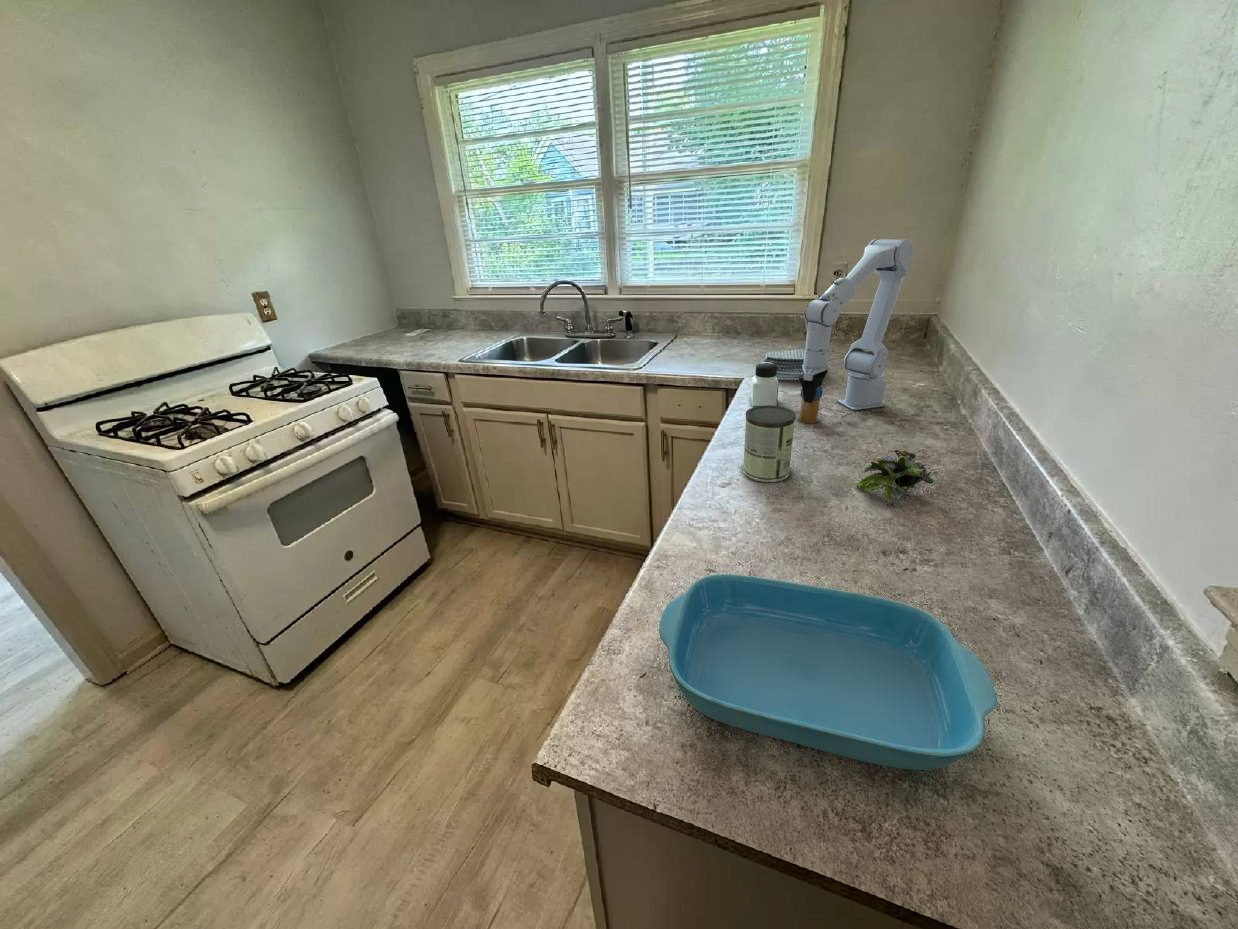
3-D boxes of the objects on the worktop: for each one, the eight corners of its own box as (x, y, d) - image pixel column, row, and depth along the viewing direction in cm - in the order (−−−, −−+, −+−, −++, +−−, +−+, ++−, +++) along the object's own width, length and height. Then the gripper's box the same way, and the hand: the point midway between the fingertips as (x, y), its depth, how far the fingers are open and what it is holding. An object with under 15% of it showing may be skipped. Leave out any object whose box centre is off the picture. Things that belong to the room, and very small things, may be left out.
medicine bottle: (776, 406, 146) (780, 367, 141) (751, 406, 148) (754, 367, 142) (774, 398, 153) (778, 360, 147) (751, 398, 154) (753, 360, 149)
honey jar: (807, 415, 139) (811, 386, 135) (820, 420, 135) (824, 390, 131) (795, 419, 137) (799, 389, 133) (808, 424, 133) (812, 394, 129)
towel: (817, 381, 164) (820, 358, 161) (760, 380, 169) (762, 357, 166) (813, 368, 177) (816, 346, 174) (761, 367, 182) (762, 346, 178)
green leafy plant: (892, 510, 104) (940, 471, 98) (895, 529, 95) (948, 487, 89) (849, 474, 106) (894, 434, 100) (848, 490, 97) (897, 446, 91)
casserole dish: (950, 645, 66) (964, 605, 63) (1011, 822, 47) (1036, 778, 44) (678, 598, 77) (678, 562, 74) (640, 727, 58) (638, 685, 55)
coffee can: (744, 459, 117) (748, 403, 111) (790, 463, 114) (796, 406, 108) (739, 480, 109) (743, 420, 102) (788, 485, 106) (795, 424, 99)
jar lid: (796, 394, 135) (797, 386, 133) (813, 392, 136) (815, 383, 134) (808, 400, 130) (809, 391, 129) (825, 398, 131) (827, 389, 130)
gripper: (827, 357, 120) (820, 409, 126) (838, 343, 130) (832, 392, 136) (797, 354, 123) (792, 406, 129) (811, 341, 134) (805, 389, 140)
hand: (810, 398), depth 133 cm, fingers closed on jar lid, 5 cm apart
